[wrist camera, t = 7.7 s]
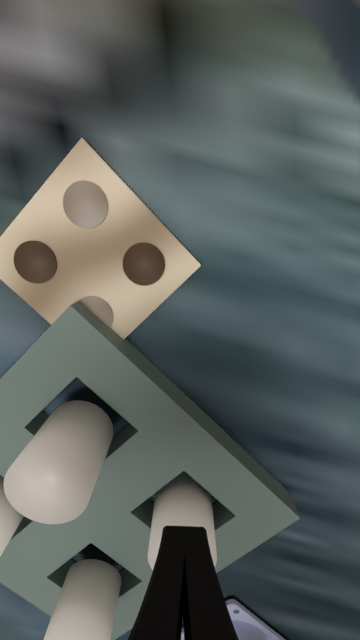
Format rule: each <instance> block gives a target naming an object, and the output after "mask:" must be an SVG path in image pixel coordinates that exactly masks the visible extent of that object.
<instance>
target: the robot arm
mask: <svg viewBox="0 0 360 640" xmlns="http://www.w3.org/2000/svg"><path fill="white" fill-rule="evenodd" d="M182 619H183V624H184V628H182ZM128 640H285V639H284V638H283V637H282V636H280V635H279V634H278V633H277V632H275V631H274V630H273V629H272V628H270V627H269V626H268V625H266V624H265V623H264V622H263V621H261V620H260V619H259V618H258V617H256V616H255V615H254V614H253V613H251V612H250V611H249V610H248V609H246V608H245V607H244V606H243V605H241V604H240V603H239V602H238V601H236V600H235V599H229V600H227V601H225V600H224V597H223V594H222V591H221V587H220V584H219V581H218V578H217V574H216V571H215V567H214V564H213V560H212V556H211V552H210V547H209V543H208V537H207V531H206V529H205V528H204V527H195V526H167V525H166V526H165V527H164V528H163V531H162V537H161V542H160V547H159V551H158V555H157V558H156V562H155V565H154V569H153V572H152V575H151V578H150V581H149V584H148V587H147V590H146V593H145V596H144V599H143V602H142V605H141V607H140V610H139V613H138V615H137V618H136V620H135V623H134V626H133V628H132V631H131V633H130V636H129V638H128Z"/></svg>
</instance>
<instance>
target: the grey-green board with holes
mask: <svg viewBox="0 0 360 640" xmlns="http://www.w3.org/2000/svg"><path fill="white" fill-rule="evenodd" d="M80 300H81V299H80ZM80 300H79V301H77V302H75V303H73V304H72V305H70V306H69V307H68V308H67V309H66V310H65V311H64V312H63V313H62V314H61V315H60V317H59V318H58V319H57V320H56V321H55V322H54V323H53V324H52V325H51V326H50V327H49V328H48V329H47V330H46V331H45V332H44V333H43V334H42V335H41V337H40V338H39V339H38V340H37V341H36V342H35V343H34V344H33V345H32V346H31V347H30V348H29V349H28V350H27V351H26V352H25V353H24V354H23V356H22V357H21V358H20V359H19V360H18V361H17V362H16V363H15V364H14V365H13V366H12V367H11V368H10V369H9V370H8V371H7V372H6V373H5V374H4V376H3V377H2V378H1V379H0V475H1V476H2V477H5V474H6V472H7V470H8V469H9V467H10V466H11V465H12V464H13V462H14V461H15V460H16V458H17V457H18V456H19V455H20V453H21V452H22V451H23V449H24V448H25V447H26V446H27V444H28V443H29V442H30V440H31V439H32V438H33V437H34V435H35V434H36V433H37V431H38V430H39V429H40V428H41V426H42V425H43V424H44V423H45V421H46V420H47V419H48V417H49V416H48V415H46V414H45V413H44V412H43V411H42V410H43V409H44V408H45V407H46V406H47V405H48V404H49V403H50V402H51V401H52V400H53V399H54V398H55V397H56V396H57V395H58V394H59V393H60V392H61V391H62V390H63V389H64V388H65V387H66V386H67V385H68V384H70V383H71V382H72V381H73V380H74V379H75V378H76V377H77V378H78V379H80V380H81V381H82V382H83V383H84V384H85V385H86V386H88V387H89V388H90V389H91V390H92V391H93V392H94V393H96V394H97V395H98V396H99V397H100V398H101V399H103V400H104V401H105V402H106V403H107V404H108V405H109V406H111V407H112V408H113V409H114V410H115V411H116V412H117V413H119V414H120V415H121V416H122V417H123V418H124V419H125V420H127V421H128V422H129V423H130V424H129V425H128V426H127V427H126V428H124V429H123V430H122V431H121V432H120V433H119V434H118V435H116V436H115V437H114V438H113V439H112V441H111V444H110V447H109V449H108V452H107V455H106V457H105V460H104V463H103V465H102V468H101V471H100V473H99V476H98V479H97V481H96V484H95V487H94V489H93V492H92V495H91V497H90V500H89V503H88V505H87V507H86V509H85V510H84V512H83V513H82V514H81V515H80V516H78V517H77V518H76V519H74V520H72V521H69V522H66V523H62V524H44V523H39V522H36V521H33V520H31V519H28V518H26V517H25V516H24V517H23V519H22V521H21V523H20V524H19V526H18V528H17V529H16V531H15V533H14V534H13V536H12V538H11V540H10V541H9V543H8V545H7V546H6V548H5V550H4V551H3V553H2V555H1V556H0V583H2V584H3V585H5V586H6V587H8V588H9V589H11V590H12V591H14V592H15V593H17V594H18V595H20V596H21V597H23V598H24V599H26V600H27V601H29V602H30V603H32V604H33V605H35V606H36V607H38V608H39V609H41V610H42V611H44V612H45V613H47V614H48V615H50V616H51V617H52V614H53V612H54V609H55V606H56V603H57V601H58V598H59V595H60V592H61V589H62V587H63V584H64V581H65V578H66V575H67V573H68V570H69V568H70V567H71V566H72V565H73V564H75V563H76V562H75V561H74V560H72V559H71V558H72V557H73V556H75V555H76V554H77V553H78V552H80V551H81V550H82V549H84V548H85V547H86V546H87V545H89V544H90V543H92V544H93V545H95V546H96V547H97V548H99V549H100V550H101V551H103V552H104V553H105V554H107V555H108V556H109V557H111V558H112V559H113V560H115V561H116V562H117V563H119V564H120V565H121V566H123V567H124V569H123V570H121V571H120V572H119V574H120V576H121V587H120V593H119V598H118V603H117V608H116V614H115V619H114V624H113V629H112V635H111V640H115V639H117V638H118V637H120V636H121V635H123V634H124V633H126V632H127V631H129V630H130V629H132V628H133V626H134V623H135V620H136V618H137V615H138V613H139V610H140V607H141V605H142V602H143V599H144V596H145V593H146V590H147V587H148V584H149V581H150V578H151V575H152V572H153V570H152V569H151V567H150V565H149V563H148V548H149V540H150V532H151V524H152V516H153V508H154V503H153V502H152V501H151V500H150V499H149V497H151V496H152V495H153V494H154V493H156V492H157V491H158V490H160V489H161V488H162V487H164V486H165V485H166V484H167V483H169V482H170V481H171V480H173V479H174V478H175V477H176V476H178V475H179V474H180V473H182V472H183V471H185V472H186V473H187V474H188V475H190V476H191V477H192V478H193V479H194V480H195V481H197V482H198V483H199V484H200V485H201V486H202V487H203V488H205V489H206V490H207V491H208V492H209V493H210V494H211V495H213V496H214V497H215V498H216V499H217V500H218V501H217V502H215V503H214V504H213V505H212V508H213V519H214V529H215V540H216V550H217V563H216V566H215V571H216V573H217V572H219V571H220V570H222V569H224V568H225V567H227V566H228V565H230V564H231V563H233V562H234V561H236V560H237V559H239V558H240V557H242V556H243V555H245V554H246V553H248V552H249V551H251V550H252V549H254V548H256V547H257V546H259V545H260V544H262V543H263V542H265V541H266V540H268V539H269V538H271V537H272V536H274V535H275V534H277V533H278V532H280V531H281V530H283V529H285V528H286V527H288V526H289V525H291V524H292V523H294V522H295V521H297V520H298V519H300V516H299V514H298V511H297V509H296V506H295V504H294V502H293V499H292V497H291V494H290V492H289V491H288V490H286V489H285V488H284V487H283V486H282V485H281V484H280V483H279V482H278V481H277V480H276V479H275V478H274V477H273V476H272V475H271V474H269V473H268V472H267V471H266V470H265V469H264V468H263V467H262V466H261V465H260V464H259V463H258V462H257V461H256V460H255V459H254V458H252V457H251V456H250V455H249V454H248V453H247V452H246V451H245V450H244V449H243V448H242V447H241V446H240V445H239V444H238V443H237V442H235V441H234V440H233V439H232V438H231V437H230V436H229V435H228V434H227V433H226V432H225V431H224V430H223V429H222V428H221V427H220V426H218V425H217V424H216V423H215V422H214V421H213V420H212V419H211V418H210V417H209V416H208V415H207V414H206V413H205V412H204V411H203V410H201V409H200V408H199V407H198V406H197V405H196V404H195V403H194V402H193V401H192V400H191V399H190V398H189V397H188V396H187V395H186V394H184V393H183V392H182V391H181V390H180V389H179V388H178V387H177V386H176V385H175V384H174V383H173V382H172V381H171V380H170V379H169V378H167V377H166V376H165V375H164V374H163V373H162V372H161V371H160V370H159V369H158V368H157V367H156V366H155V365H154V364H153V363H152V362H150V361H149V360H148V359H147V358H146V357H145V356H144V355H143V354H142V353H141V352H140V351H139V350H138V349H137V348H136V347H135V346H133V345H132V344H131V343H130V342H129V341H128V340H127V339H126V338H125V339H124V340H123V339H122V338H121V337H120V336H119V335H118V334H117V333H116V332H115V331H114V330H113V329H112V328H111V327H110V328H109V327H108V326H107V325H106V324H105V323H103V322H102V321H101V320H100V319H99V318H98V317H97V316H96V315H95V314H94V313H93V312H92V311H91V310H90V309H88V308H87V307H86V306H85V305H84V304H83V303H82V302H81V301H80Z"/></svg>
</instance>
